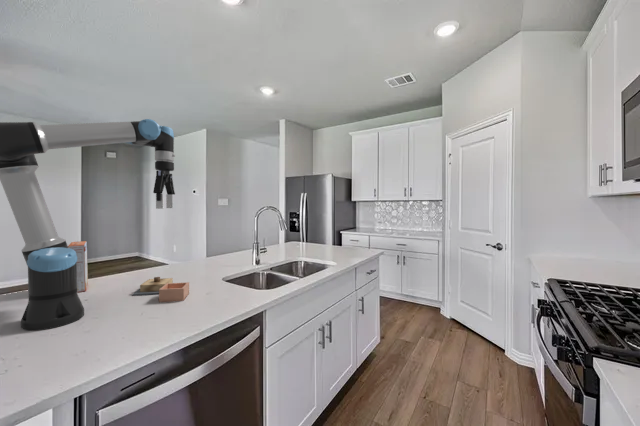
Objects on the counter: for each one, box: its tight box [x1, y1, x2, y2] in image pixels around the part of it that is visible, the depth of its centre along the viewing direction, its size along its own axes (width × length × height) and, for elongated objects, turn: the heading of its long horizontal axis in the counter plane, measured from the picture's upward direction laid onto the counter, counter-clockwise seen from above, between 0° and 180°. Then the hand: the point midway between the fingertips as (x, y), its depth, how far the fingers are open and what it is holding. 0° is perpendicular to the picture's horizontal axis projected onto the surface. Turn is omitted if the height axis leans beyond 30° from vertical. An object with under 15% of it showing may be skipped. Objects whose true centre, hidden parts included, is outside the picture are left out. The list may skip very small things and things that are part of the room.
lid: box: [139, 276, 174, 292], centre depth 126 cm, size 10×10×5 cm
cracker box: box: [67, 240, 89, 293], centre depth 126 cm, size 14×6×21 cm, turn 37°
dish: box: [158, 281, 190, 303], centre depth 116 cm, size 9×9×5 cm
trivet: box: [132, 288, 159, 297], centre depth 126 cm, size 14×14×1 cm
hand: (165, 208), depth 128 cm, fingers open, 13 cm apart
